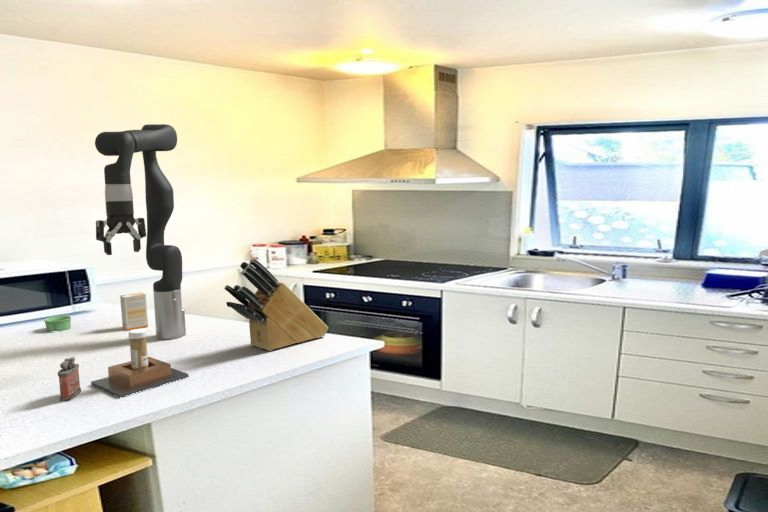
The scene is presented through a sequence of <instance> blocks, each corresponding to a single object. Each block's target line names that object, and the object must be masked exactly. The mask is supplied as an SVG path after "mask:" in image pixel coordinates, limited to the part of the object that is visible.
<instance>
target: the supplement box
mask: <svg viewBox="0 0 768 512" xmlns="http://www.w3.org/2000/svg"><path fill="white" fill-rule="evenodd" d="M146 295H147V294H146V293H144V292H135V293H129V294H122V295H120V296H119V298H120V299H119V300H120V311H121V321H122V322H121V323H122V329H124V330H126V331H131V330H135V329H144V328H147V327H149V320H148V319H149V317H148V307H147V296H146Z"/></svg>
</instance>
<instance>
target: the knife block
mask: <svg viewBox="0 0 768 512" xmlns="http://www.w3.org/2000/svg"><path fill="white" fill-rule="evenodd" d="M239 266H240V268H241V269H242V271H241V272H240V273H241V275H243V276H244V277H245V278H246V279H247V281H249V282H250V284H251V285H253V286H254V288H256V292H255V293H254V292H253V291H252V290H251V289H249V288H247V287H246V286H240V285H238V284H237V285H236V284H235V285H234V286H233V287H232V286H230V285H229V284H226V285H225V286H224V287H223V290H225V291H227V292H228V293H229V294H230V295H231V296H232V297H233V298H234V299H236V301H238V302H239V303H238V302H232V301H226V306H227V307H228V308H231V309H233V310H234V311H235V312H236V313H238V314H239V315H241V316H242V317H244V318H245V319H247V320H248V322H249V323H248V325H249V337H250V345H251V346H254V347H255V346H256V347H257V348H259V349H263V350H266V351H269V352H271V351H273V350H275V349H281V348H283V347H288V346H290V345H293V344H296V343H302V342H303V343H304V342H306V341H309V340H313V339H320V338H321V337H324V336H326V334H327V332H328V330H329V326H327V324H326V323H325V322H324V321H323V320H322V319H321V318H320V317H319V316H318V315H317V314H315V312H314V311H313V310H312V309H311V308H310V307H309V305H307V304H306V303H305V302H304V301H302V299H300V297H298V295H297V294H295V292H294V291H293V290H292V289H291V288H289V286H287V285H286V283H284V282H279V281H278V279H277V278H276V277H275V276H274V275H273V274H272V273H271V271H269V270H268V269H267V268H266V267H265V266H264V265H263V264H262V263H261V262H260V261H259V260H257V259H255V258H251V259H250V260H249V263H247V261H243V262H242V263H241V264H240V265H239Z"/></svg>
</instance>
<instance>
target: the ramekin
mask: <svg viewBox="0 0 768 512" xmlns="http://www.w3.org/2000/svg"><path fill="white" fill-rule="evenodd" d="M71 321H72V316H70V315H57V316H51V317H47V318H45V319H44V323H45V327H46V329H45V330H46V331H47V332H49V331H59V332H64V331H63V330H65V331H67V329H68V330H69V329H71V323H72V322H71Z"/></svg>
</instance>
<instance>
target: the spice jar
mask: <svg viewBox="0 0 768 512" xmlns="http://www.w3.org/2000/svg"><path fill="white" fill-rule="evenodd" d="M147 335H148V333H147V329H144V328H137V329H132V330H128V339H129V345H130V346H129V348H130V349H129V350H130V351H129V352H130V361H131V366H132V371H137V370H141V369H144V368H148V357H149V356H148V343H147Z"/></svg>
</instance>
